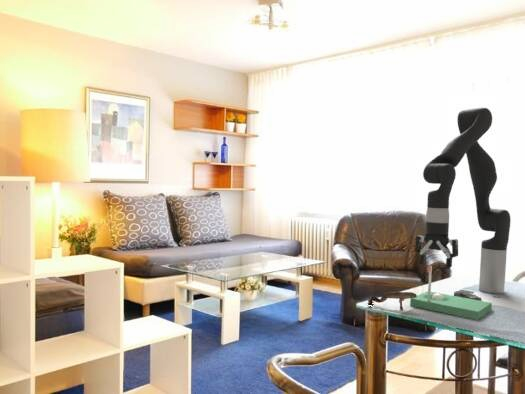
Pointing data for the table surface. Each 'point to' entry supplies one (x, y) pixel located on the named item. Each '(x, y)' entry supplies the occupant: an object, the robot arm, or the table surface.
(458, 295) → the rock
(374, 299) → the toy
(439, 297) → the ball
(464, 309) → the green
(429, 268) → the pin
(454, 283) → the table surface
